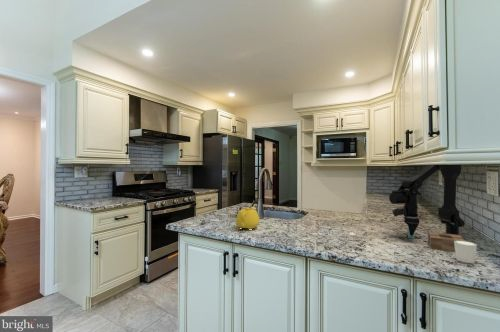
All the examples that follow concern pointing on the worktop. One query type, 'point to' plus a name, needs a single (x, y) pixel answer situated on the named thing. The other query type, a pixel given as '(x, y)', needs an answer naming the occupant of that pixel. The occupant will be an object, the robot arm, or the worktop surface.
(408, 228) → the peg
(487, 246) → the worktop surface
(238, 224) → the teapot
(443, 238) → the socket block
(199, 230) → the worktop surface
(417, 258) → the worktop surface
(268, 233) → the worktop surface
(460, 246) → the white cup
